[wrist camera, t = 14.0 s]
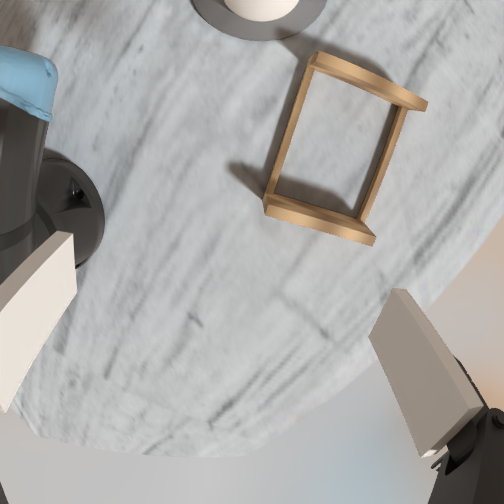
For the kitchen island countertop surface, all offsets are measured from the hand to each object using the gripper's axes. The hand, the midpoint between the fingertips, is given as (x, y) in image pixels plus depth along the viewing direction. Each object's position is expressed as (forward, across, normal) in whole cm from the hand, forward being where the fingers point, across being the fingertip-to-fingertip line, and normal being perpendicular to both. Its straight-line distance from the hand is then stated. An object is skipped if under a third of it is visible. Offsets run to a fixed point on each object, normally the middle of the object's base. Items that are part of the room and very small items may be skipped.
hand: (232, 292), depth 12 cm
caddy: (+25, +11, +4) cm, 27 cm away
